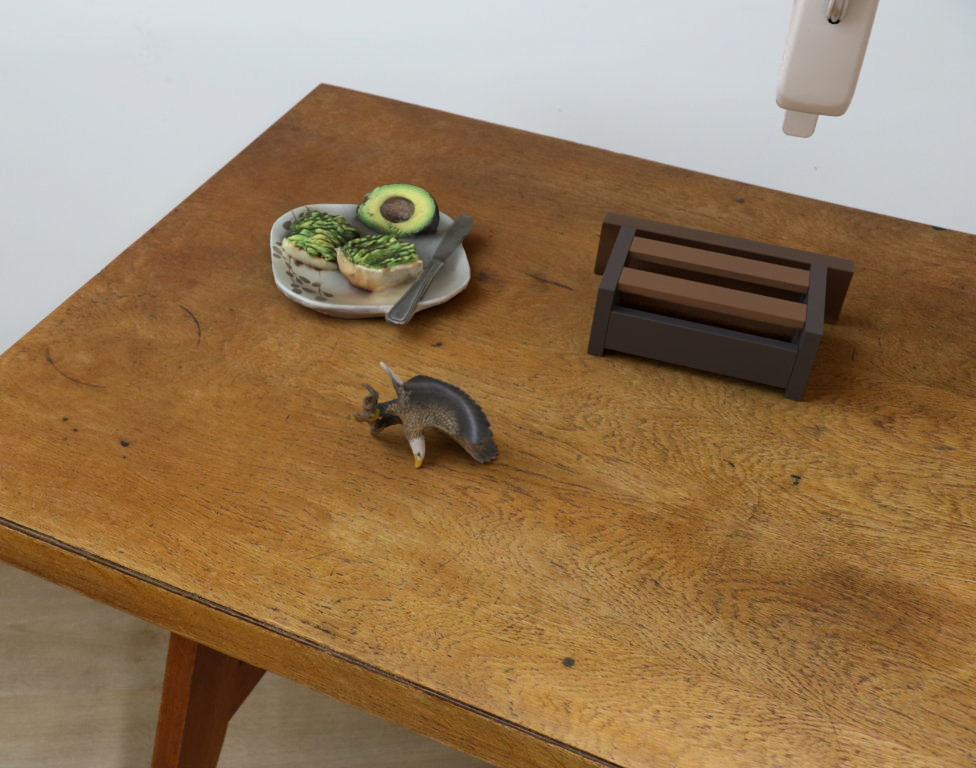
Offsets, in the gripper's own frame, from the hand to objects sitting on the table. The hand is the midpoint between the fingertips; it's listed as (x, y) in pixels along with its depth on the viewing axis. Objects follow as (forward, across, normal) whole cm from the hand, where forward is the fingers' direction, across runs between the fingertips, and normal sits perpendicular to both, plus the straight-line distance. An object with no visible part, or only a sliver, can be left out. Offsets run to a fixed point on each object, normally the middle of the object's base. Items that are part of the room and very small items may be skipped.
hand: (797, 127), depth 65 cm
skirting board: (+23, +18, +3) cm, 29 cm away
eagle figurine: (+22, -11, +19) cm, 31 cm away
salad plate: (+22, +10, +30) cm, 39 cm away
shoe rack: (+23, +10, +3) cm, 25 cm away
